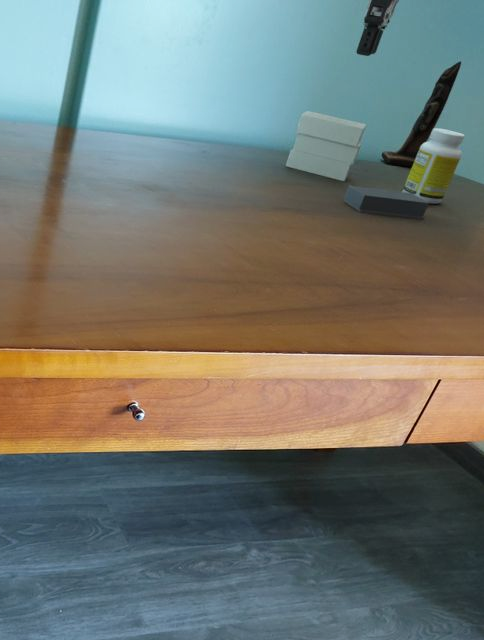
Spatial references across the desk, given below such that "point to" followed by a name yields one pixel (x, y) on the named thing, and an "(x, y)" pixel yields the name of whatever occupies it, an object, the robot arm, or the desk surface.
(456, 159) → the pill bottle
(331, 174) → the white stack
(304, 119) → the white block
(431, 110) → the statue
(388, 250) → the desk surface
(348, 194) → the dark gray block
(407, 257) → the desk surface
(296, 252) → the desk surface
